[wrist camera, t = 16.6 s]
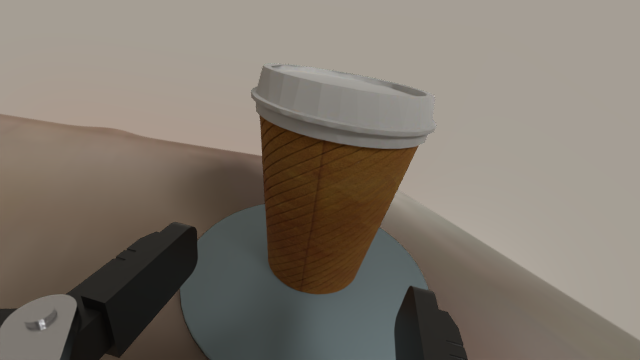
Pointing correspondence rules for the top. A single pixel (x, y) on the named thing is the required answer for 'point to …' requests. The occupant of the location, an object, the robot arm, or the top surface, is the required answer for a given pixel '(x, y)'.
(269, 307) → the mat
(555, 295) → the top surface
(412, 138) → the disposable coffee cup
